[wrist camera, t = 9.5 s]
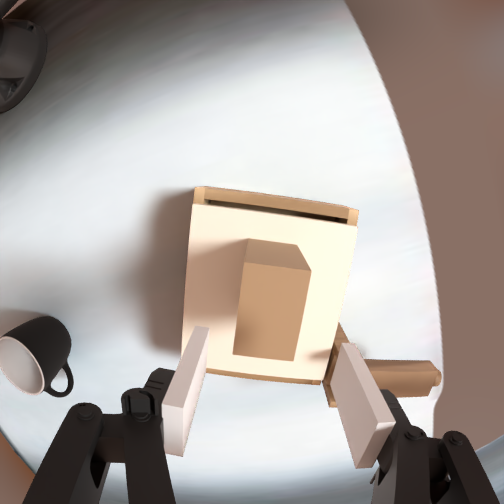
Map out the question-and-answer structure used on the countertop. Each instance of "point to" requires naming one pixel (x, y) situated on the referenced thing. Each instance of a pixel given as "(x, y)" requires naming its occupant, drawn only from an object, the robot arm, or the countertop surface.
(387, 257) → the countertop surface
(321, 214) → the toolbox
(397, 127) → the countertop surface
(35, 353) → the mug
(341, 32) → the countertop surface
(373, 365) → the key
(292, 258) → the lid
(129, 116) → the countertop surface
